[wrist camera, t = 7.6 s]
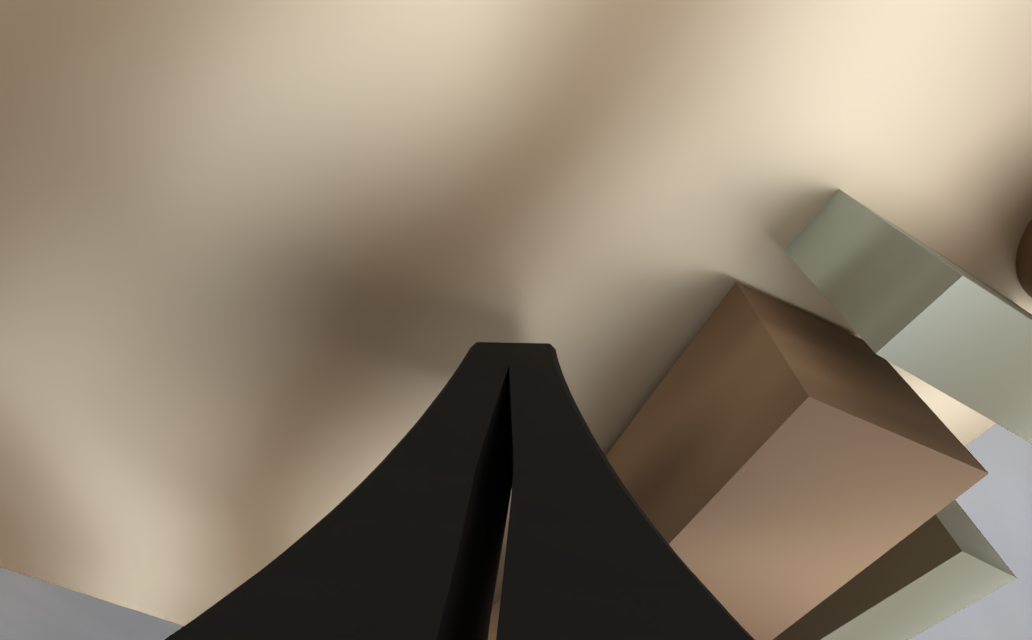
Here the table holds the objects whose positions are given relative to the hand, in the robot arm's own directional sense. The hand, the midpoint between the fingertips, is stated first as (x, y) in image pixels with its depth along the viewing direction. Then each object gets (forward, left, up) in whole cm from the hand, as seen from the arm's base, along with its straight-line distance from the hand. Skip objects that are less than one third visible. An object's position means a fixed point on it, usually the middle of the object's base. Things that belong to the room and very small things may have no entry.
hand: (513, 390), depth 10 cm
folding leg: (-4, +2, -1) cm, 5 cm away
